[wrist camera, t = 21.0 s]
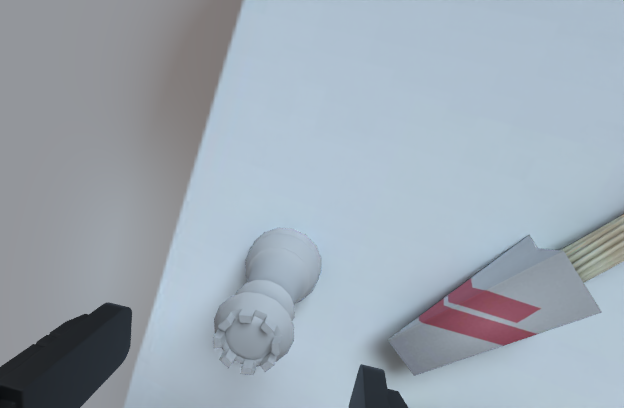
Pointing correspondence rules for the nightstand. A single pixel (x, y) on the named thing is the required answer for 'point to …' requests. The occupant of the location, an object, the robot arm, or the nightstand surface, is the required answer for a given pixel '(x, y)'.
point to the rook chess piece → (267, 300)
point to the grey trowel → (511, 300)
